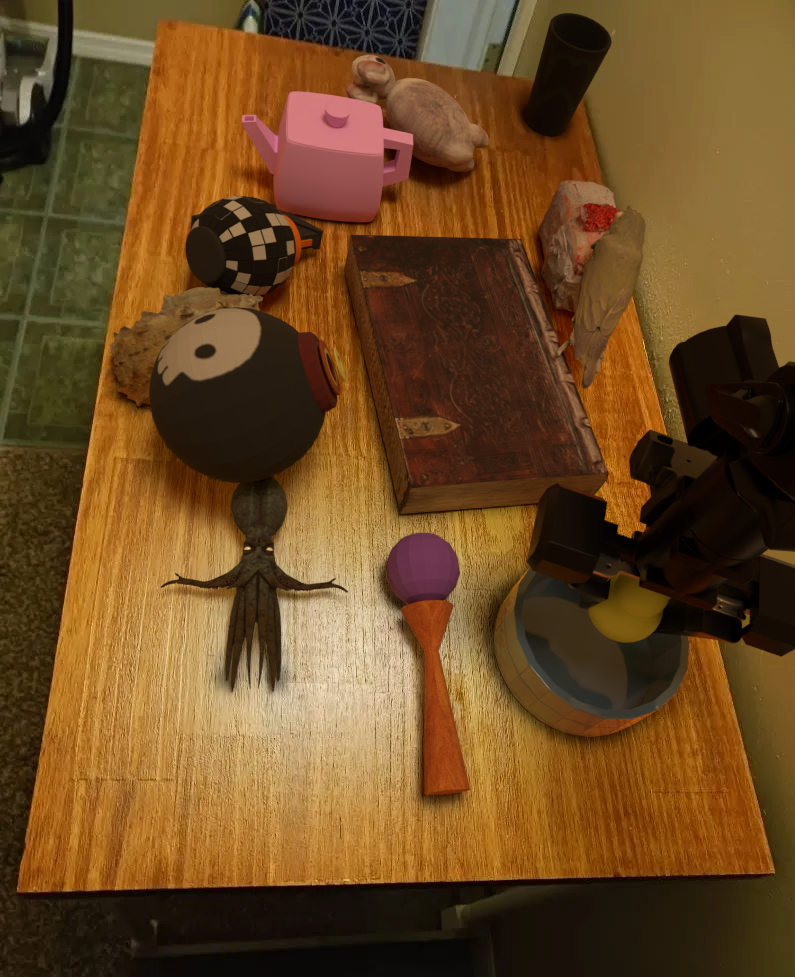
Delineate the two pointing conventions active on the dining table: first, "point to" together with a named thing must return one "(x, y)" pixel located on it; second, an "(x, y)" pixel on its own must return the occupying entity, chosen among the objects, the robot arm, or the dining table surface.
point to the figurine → (256, 577)
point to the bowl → (580, 662)
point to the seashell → (163, 335)
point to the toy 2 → (419, 114)
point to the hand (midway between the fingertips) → (616, 614)
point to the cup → (565, 71)
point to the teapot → (330, 156)
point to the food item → (573, 236)
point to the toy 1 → (242, 393)
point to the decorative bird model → (606, 290)
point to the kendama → (431, 647)
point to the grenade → (247, 245)
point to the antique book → (467, 373)
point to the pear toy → (628, 610)
